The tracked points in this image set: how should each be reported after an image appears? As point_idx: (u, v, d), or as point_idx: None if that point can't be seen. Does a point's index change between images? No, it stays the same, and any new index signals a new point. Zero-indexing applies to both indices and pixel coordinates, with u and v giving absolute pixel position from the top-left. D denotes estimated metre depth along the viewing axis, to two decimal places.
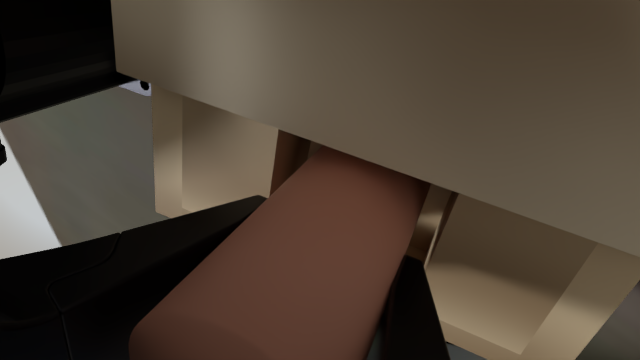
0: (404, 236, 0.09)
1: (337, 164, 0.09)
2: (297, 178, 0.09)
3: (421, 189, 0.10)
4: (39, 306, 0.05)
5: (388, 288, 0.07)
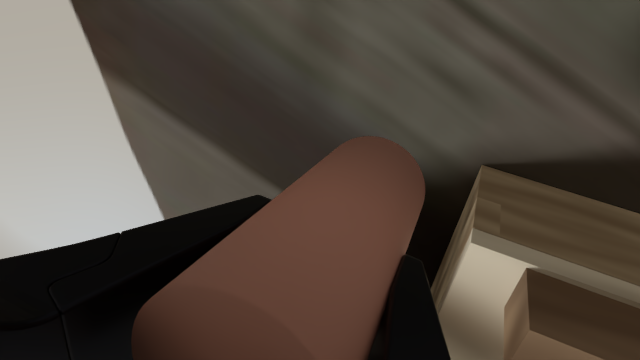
0: (402, 248, 0.09)
1: (343, 173, 0.09)
2: (305, 181, 0.09)
3: (416, 209, 0.11)
4: (39, 306, 0.05)
5: (388, 294, 0.08)
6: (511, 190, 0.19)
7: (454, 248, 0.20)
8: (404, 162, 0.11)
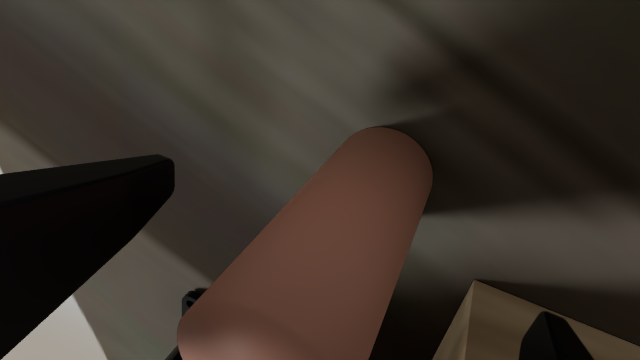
0: (407, 242, 0.10)
1: (352, 175, 0.10)
2: (317, 185, 0.10)
3: (422, 199, 0.11)
4: None
5: (392, 287, 0.09)
6: (519, 339, 0.12)
7: None
8: (411, 154, 0.12)
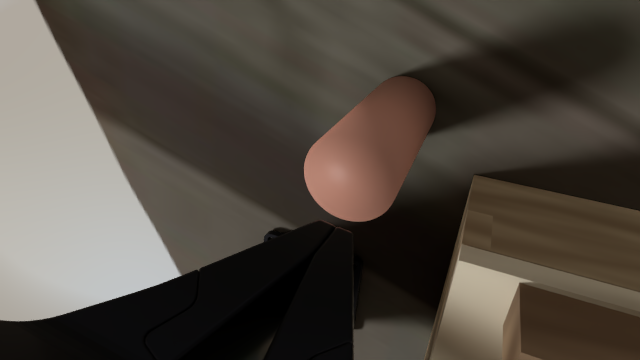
0: (421, 129, 0.16)
1: (384, 94, 0.17)
2: (364, 101, 0.16)
3: (429, 112, 0.18)
4: None
5: (415, 146, 0.15)
6: (505, 199, 0.18)
7: (452, 264, 0.19)
8: (419, 87, 0.18)
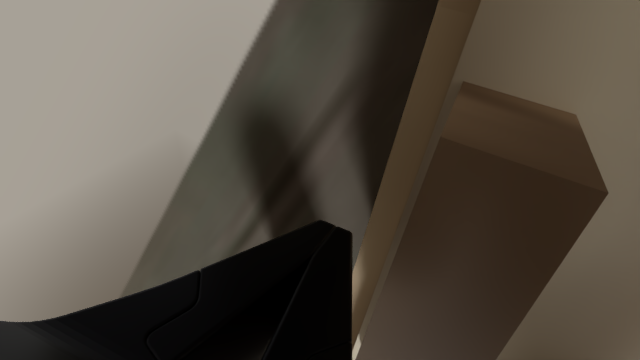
0: None
1: None
2: None
3: None
4: None
5: None
6: None
7: None
8: None
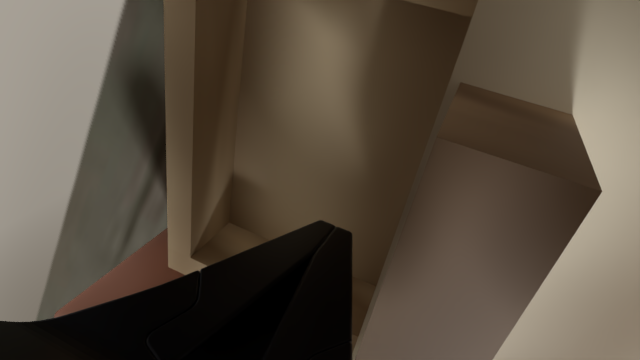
0: (149, 248, 0.20)
1: None
2: None
3: None
4: None
5: (129, 266, 0.19)
6: None
7: None
8: None
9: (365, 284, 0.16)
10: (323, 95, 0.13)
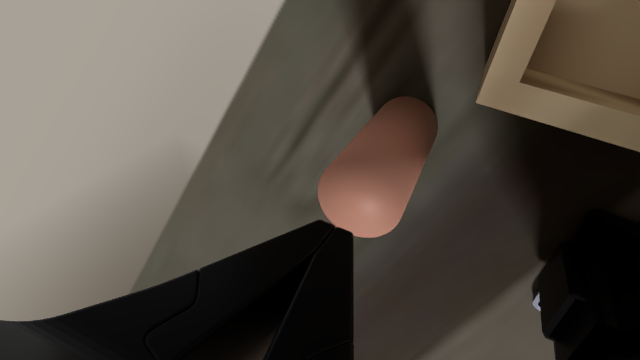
0: (385, 118, 0.18)
1: None
2: None
3: (394, 105, 0.19)
4: None
5: (382, 130, 0.16)
6: (496, 39, 0.16)
7: None
8: None
9: None
10: None
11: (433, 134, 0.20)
